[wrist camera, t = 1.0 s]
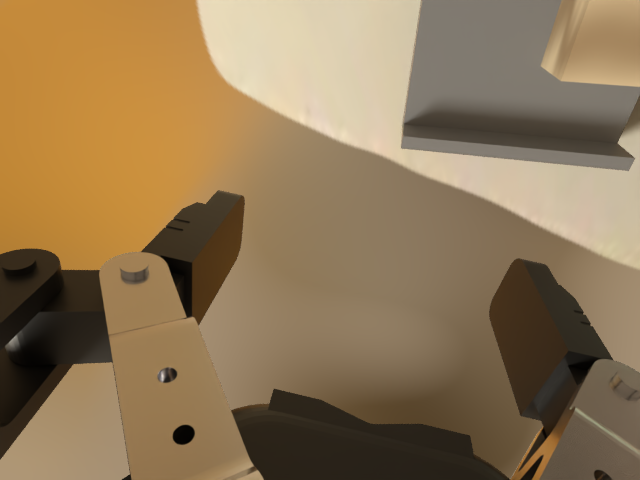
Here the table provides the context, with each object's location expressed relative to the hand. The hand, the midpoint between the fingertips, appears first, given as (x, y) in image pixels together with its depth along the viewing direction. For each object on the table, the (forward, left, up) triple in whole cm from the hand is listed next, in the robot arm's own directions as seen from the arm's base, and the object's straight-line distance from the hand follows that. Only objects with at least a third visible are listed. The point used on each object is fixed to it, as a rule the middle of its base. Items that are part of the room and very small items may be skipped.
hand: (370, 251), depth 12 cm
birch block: (-4, +10, -18) cm, 21 cm away
